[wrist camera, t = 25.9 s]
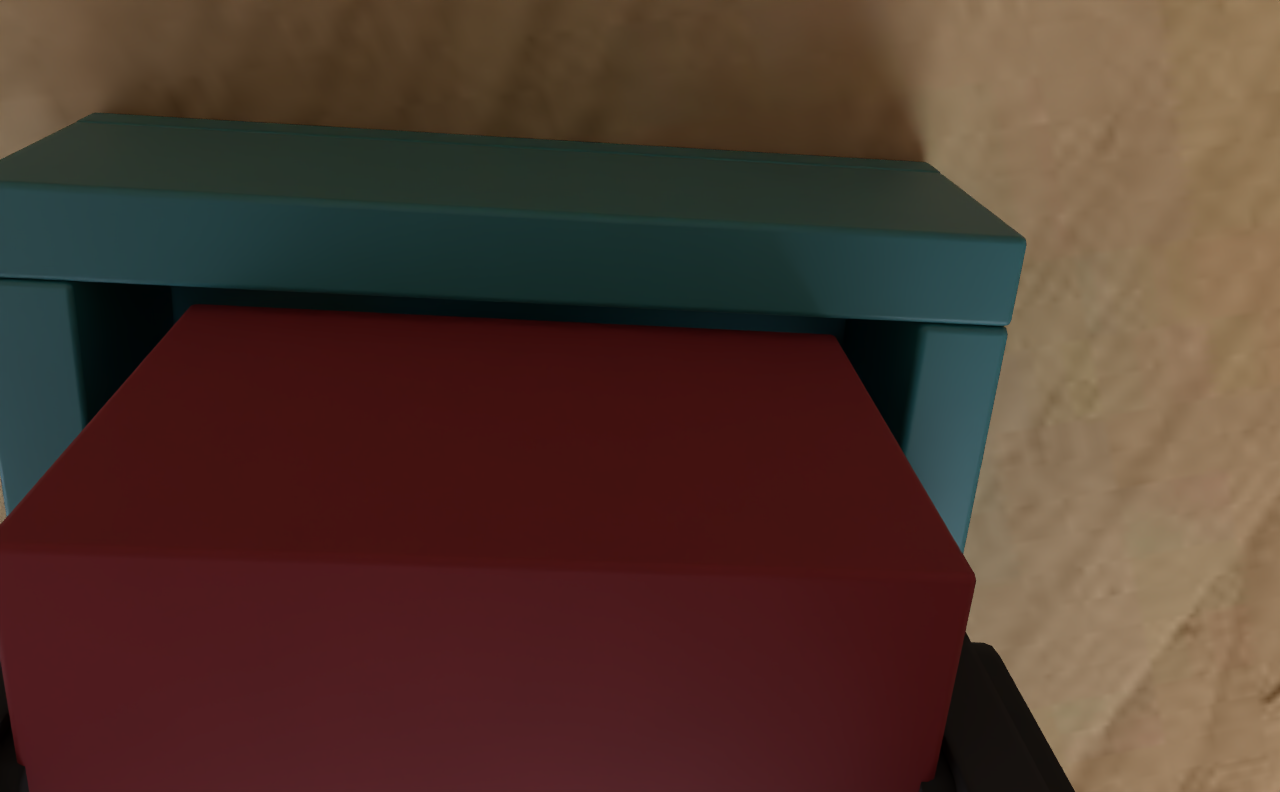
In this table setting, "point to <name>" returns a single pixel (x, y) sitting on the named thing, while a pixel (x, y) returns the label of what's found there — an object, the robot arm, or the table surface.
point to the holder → (494, 259)
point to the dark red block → (480, 567)
